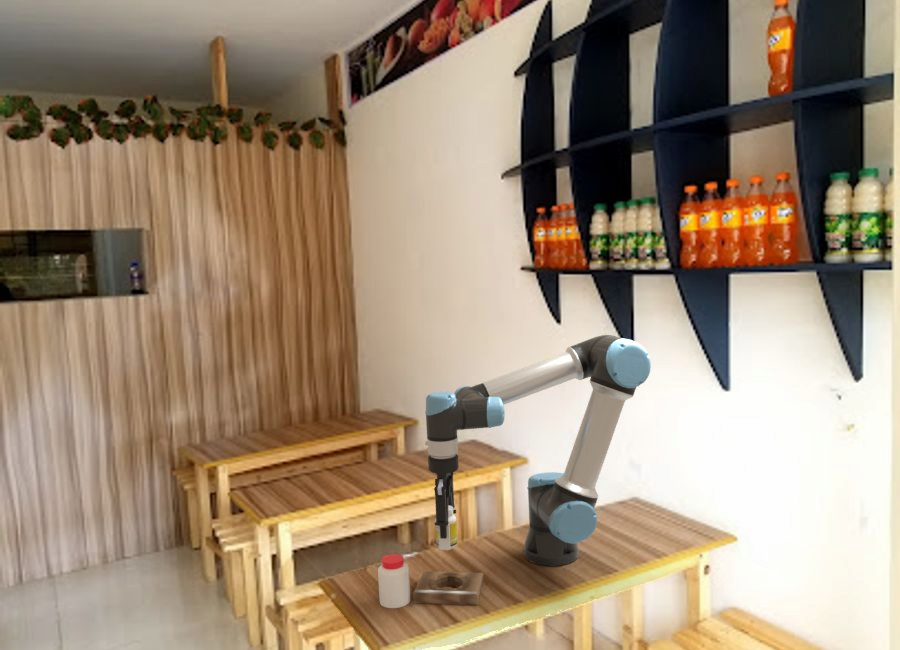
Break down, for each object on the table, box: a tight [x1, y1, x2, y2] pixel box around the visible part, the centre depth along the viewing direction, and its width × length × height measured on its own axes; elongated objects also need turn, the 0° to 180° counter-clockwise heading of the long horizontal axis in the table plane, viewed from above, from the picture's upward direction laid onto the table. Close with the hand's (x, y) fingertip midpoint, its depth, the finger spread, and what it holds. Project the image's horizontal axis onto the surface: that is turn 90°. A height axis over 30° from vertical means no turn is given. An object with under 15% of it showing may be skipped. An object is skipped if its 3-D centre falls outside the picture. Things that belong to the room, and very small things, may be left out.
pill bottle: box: [377, 553, 411, 609], centre depth 177 cm, size 8×8×11 cm
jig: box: [412, 570, 485, 606], centre depth 180 cm, size 16×12×3 cm
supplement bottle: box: [434, 505, 458, 550], centre depth 179 cm, size 5×5×10 cm
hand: (446, 544), depth 179 cm, fingers closed on supplement bottle, 5 cm apart
